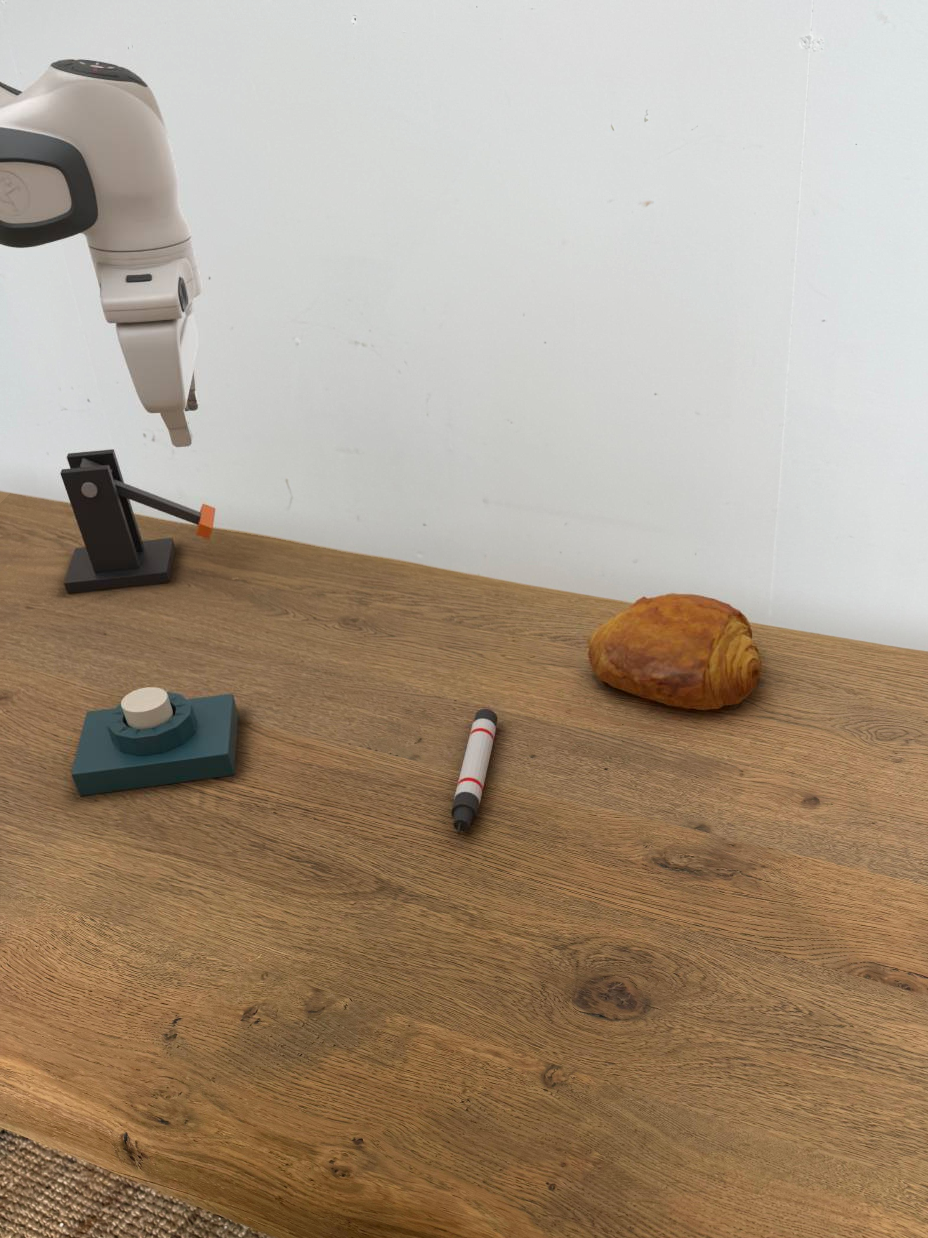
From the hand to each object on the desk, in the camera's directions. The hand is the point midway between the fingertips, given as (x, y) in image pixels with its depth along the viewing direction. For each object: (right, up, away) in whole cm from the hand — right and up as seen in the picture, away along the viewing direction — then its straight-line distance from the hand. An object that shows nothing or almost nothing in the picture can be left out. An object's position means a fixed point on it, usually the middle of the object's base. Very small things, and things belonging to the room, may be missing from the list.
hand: (187, 425), depth 115 cm
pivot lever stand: (-10, -12, +8) cm, 17 cm away
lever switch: (-6, -7, +4) cm, 10 cm away
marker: (+31, -36, -21) cm, 52 cm away
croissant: (+48, -26, -9) cm, 55 cm away
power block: (+4, -34, -17) cm, 38 cm away
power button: (+4, -31, -20) cm, 37 cm away
